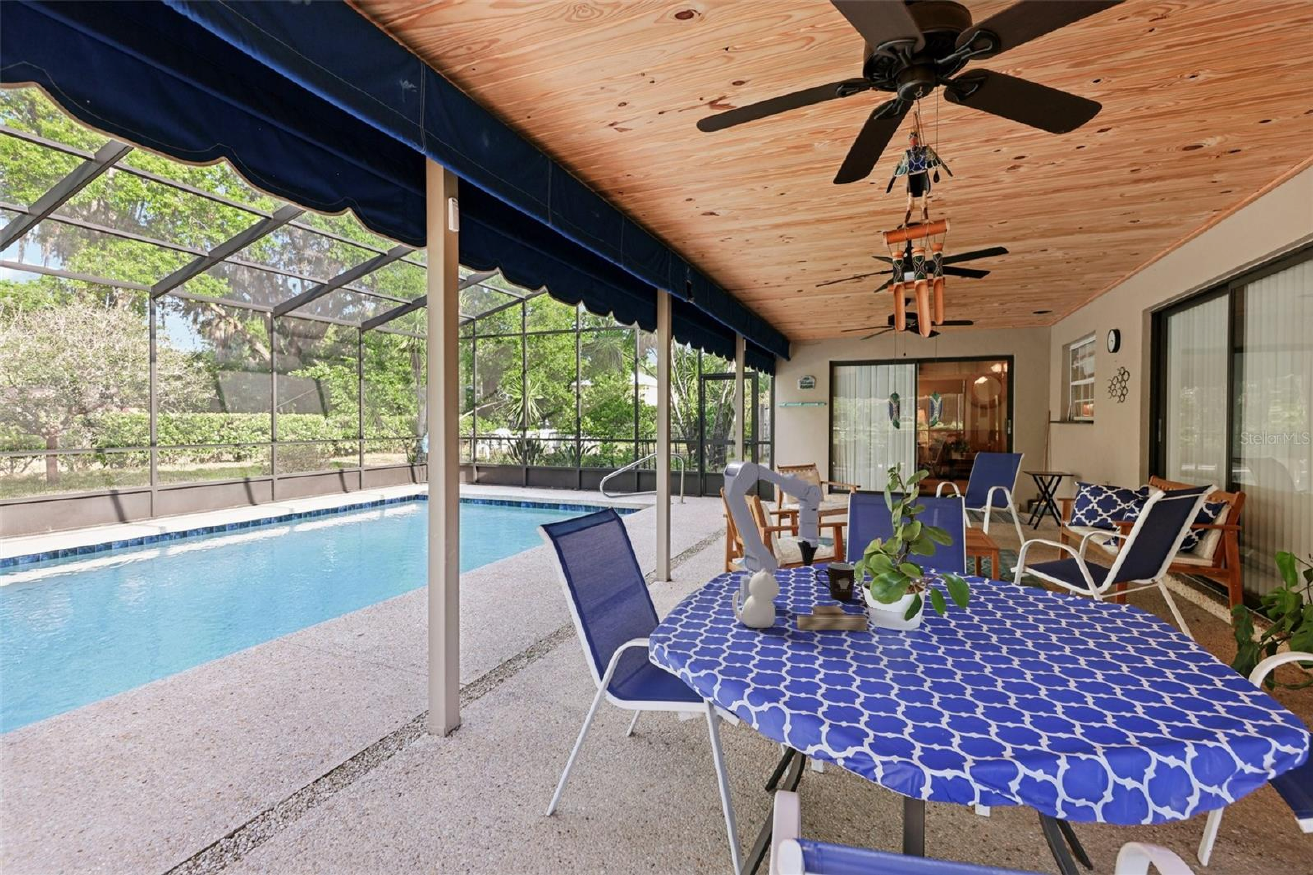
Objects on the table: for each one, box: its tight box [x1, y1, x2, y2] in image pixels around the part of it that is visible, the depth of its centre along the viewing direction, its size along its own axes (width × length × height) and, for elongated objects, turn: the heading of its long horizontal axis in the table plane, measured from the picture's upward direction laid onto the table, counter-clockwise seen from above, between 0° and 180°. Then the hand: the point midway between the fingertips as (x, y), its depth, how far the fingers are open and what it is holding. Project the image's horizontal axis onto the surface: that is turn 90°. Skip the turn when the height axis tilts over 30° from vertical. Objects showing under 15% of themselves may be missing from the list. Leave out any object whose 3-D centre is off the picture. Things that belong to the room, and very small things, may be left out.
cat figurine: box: [731, 568, 781, 629], centre depth 158 cm, size 9×12×15 cm
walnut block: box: [812, 605, 846, 616], centre depth 160 cm, size 7×6×4 cm
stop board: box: [796, 614, 868, 631], centre depth 156 cm, size 18×2×3 cm, turn 92°
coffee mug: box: [815, 562, 856, 602], centre depth 185 cm, size 12×9×10 cm
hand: (807, 565), depth 182 cm, fingers closed
